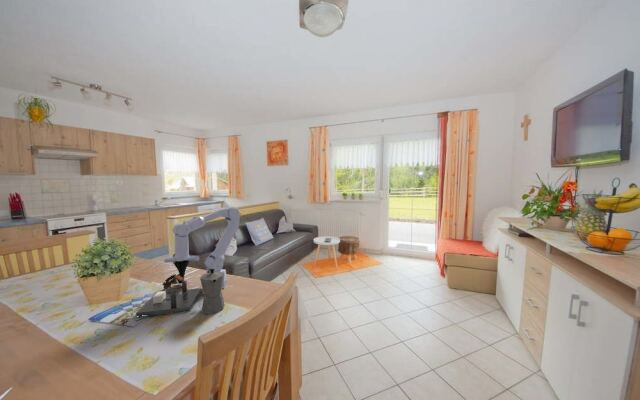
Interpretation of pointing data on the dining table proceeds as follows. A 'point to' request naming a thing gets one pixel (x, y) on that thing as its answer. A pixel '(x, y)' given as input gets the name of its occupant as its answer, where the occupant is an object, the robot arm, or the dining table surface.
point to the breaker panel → (182, 303)
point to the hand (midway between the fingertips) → (182, 275)
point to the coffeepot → (212, 292)
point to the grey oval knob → (184, 286)
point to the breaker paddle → (159, 297)
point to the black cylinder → (173, 300)
